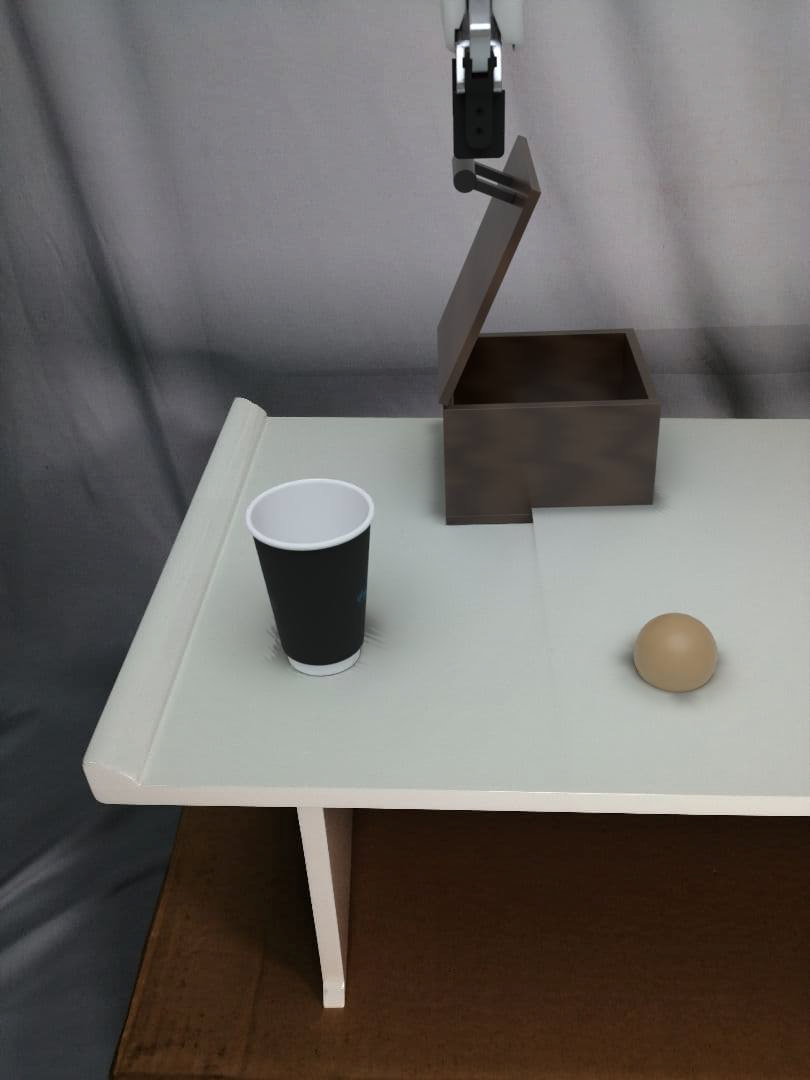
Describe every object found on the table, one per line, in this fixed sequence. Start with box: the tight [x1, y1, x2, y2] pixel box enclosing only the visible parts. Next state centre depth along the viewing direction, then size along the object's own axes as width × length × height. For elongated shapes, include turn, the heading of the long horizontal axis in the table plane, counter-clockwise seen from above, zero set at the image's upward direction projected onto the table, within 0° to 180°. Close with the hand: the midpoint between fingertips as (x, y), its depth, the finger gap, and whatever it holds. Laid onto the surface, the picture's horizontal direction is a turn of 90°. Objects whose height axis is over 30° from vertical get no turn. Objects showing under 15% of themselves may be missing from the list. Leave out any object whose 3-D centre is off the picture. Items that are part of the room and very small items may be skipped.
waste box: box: [442, 327, 662, 526], centre depth 92 cm, size 16×14×10 cm
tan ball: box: [633, 612, 719, 693], centre depth 72 cm, size 5×5×5 cm
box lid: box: [436, 134, 542, 406], centre depth 85 cm, size 16×14×5 cm
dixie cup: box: [244, 477, 376, 677], centre depth 74 cm, size 8×8×11 cm
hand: (477, 137), depth 78 cm, fingers open, 9 cm apart
